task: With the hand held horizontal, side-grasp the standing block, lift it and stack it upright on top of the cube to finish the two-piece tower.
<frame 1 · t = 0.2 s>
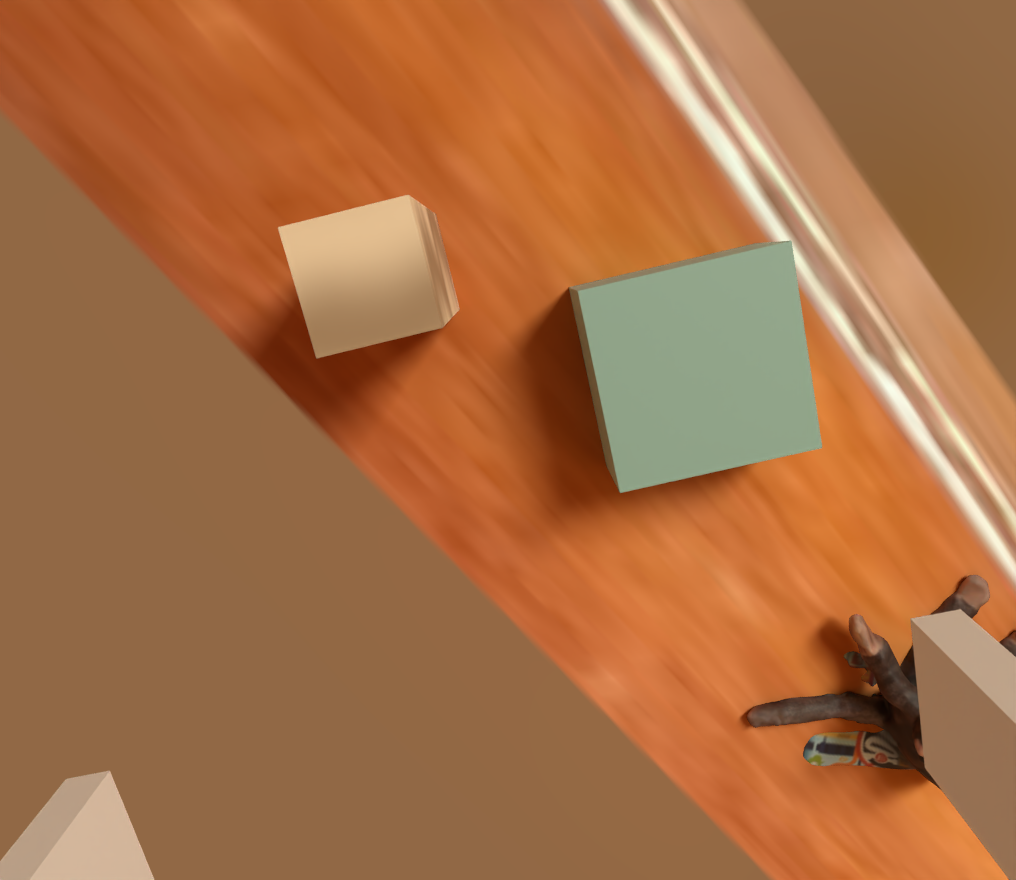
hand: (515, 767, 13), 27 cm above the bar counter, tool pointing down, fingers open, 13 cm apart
block: (401, 273, 38), on the bar counter
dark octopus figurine: (890, 681, 43), on the bar counter
cube: (677, 357, 39), on the bar counter
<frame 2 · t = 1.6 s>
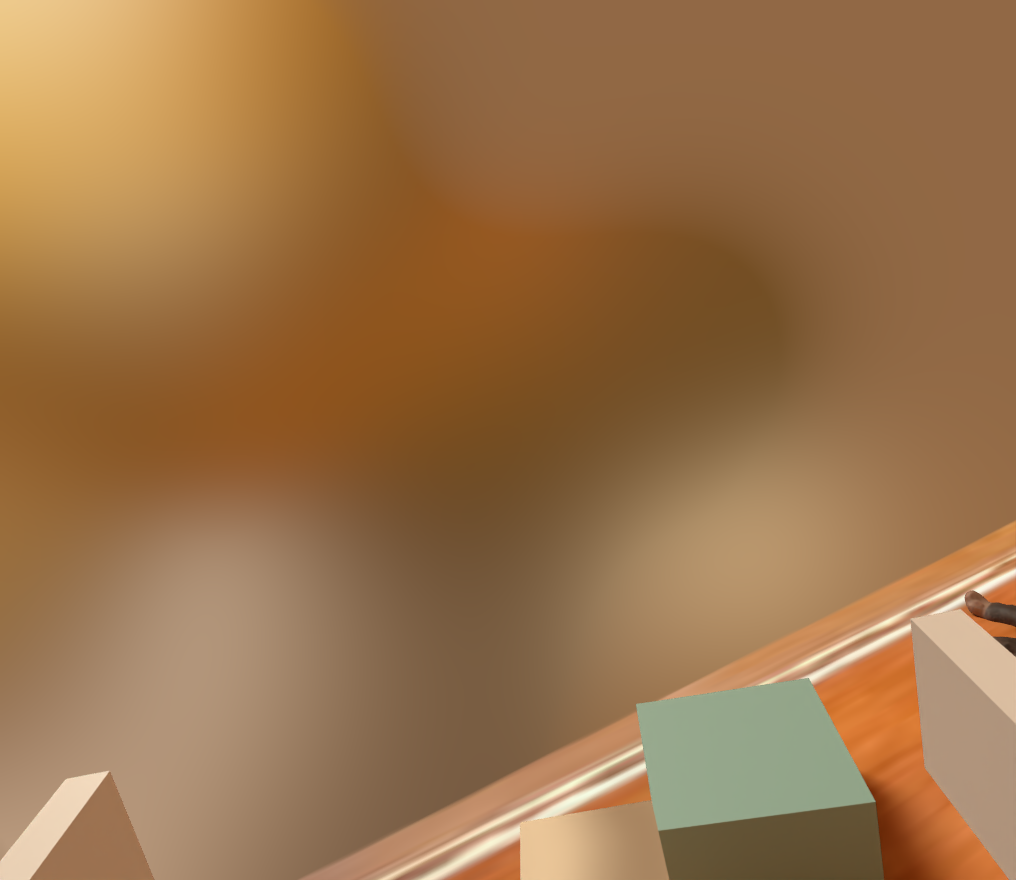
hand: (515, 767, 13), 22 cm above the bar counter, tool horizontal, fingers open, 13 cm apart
cube: (754, 833, 39), on the bar counter
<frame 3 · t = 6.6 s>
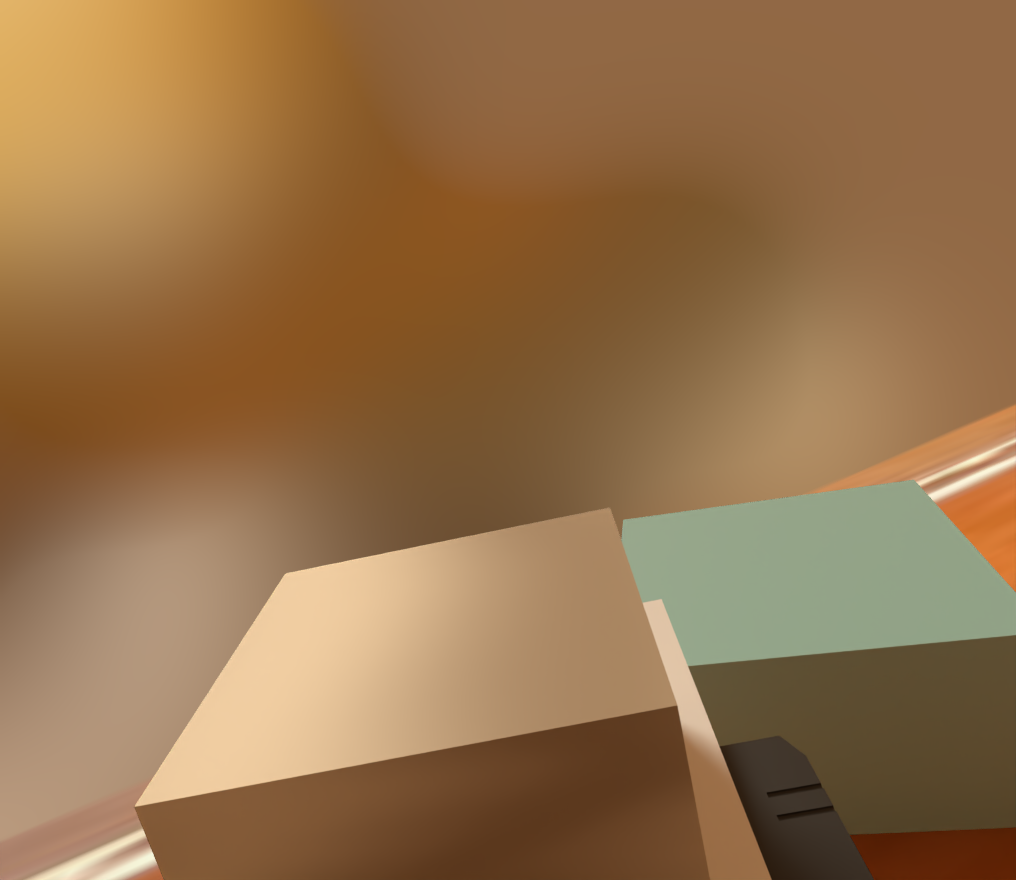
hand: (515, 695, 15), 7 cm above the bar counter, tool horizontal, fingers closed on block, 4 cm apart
cube: (807, 721, 23), on the bar counter
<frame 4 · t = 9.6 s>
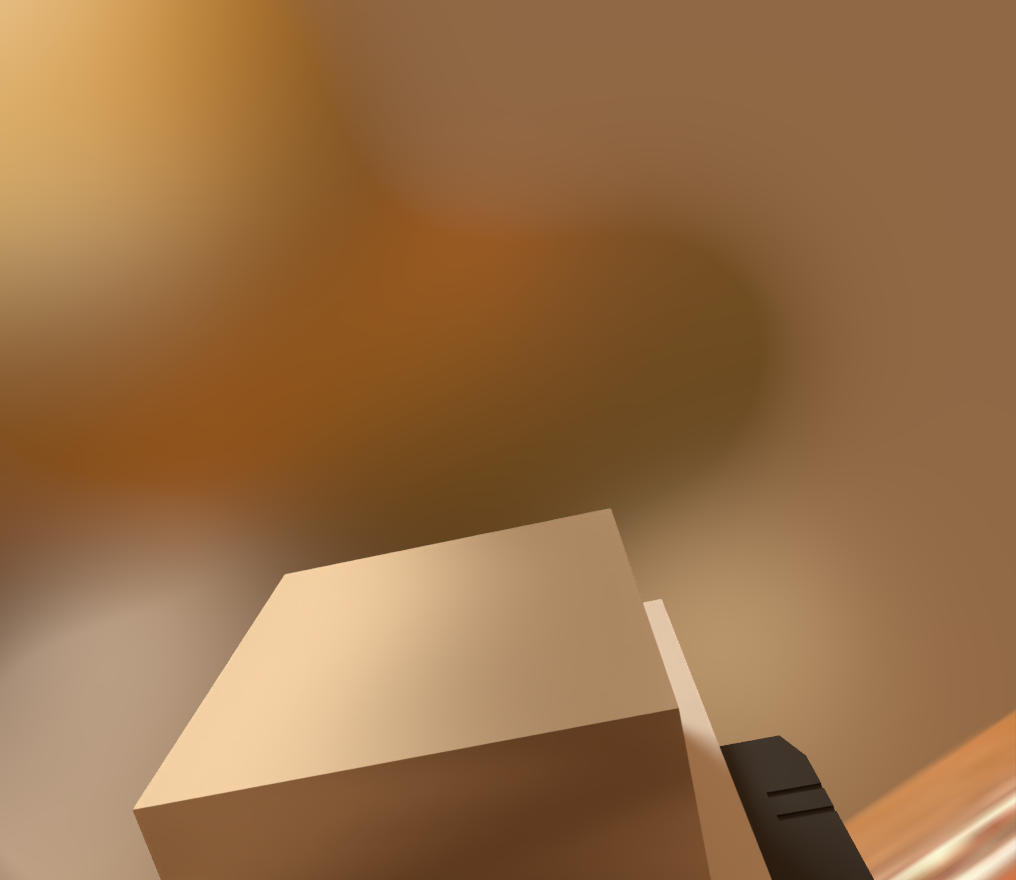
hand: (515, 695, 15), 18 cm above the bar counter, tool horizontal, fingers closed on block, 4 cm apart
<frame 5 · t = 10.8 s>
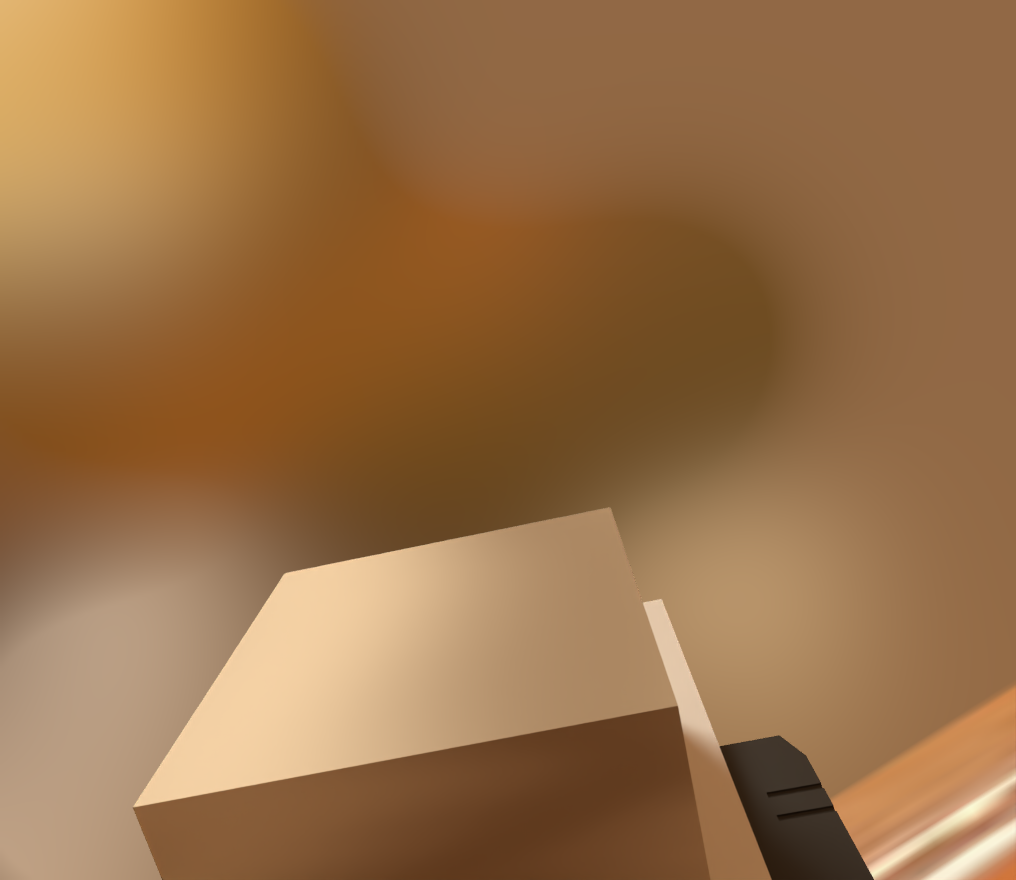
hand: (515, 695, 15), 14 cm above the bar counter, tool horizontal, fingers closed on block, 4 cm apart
when the fingers open (13 cm above the bar counter, at t = 11.3 s): block drops 2 cm, point 5 cm above the bar counter.
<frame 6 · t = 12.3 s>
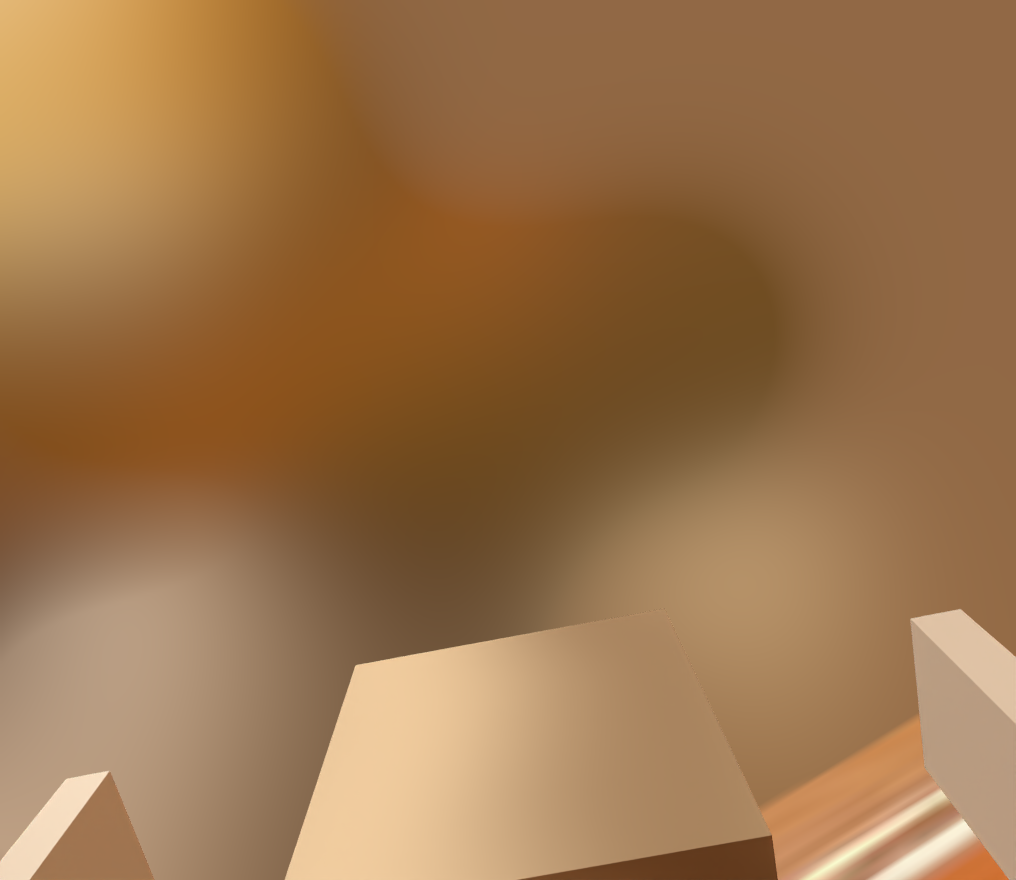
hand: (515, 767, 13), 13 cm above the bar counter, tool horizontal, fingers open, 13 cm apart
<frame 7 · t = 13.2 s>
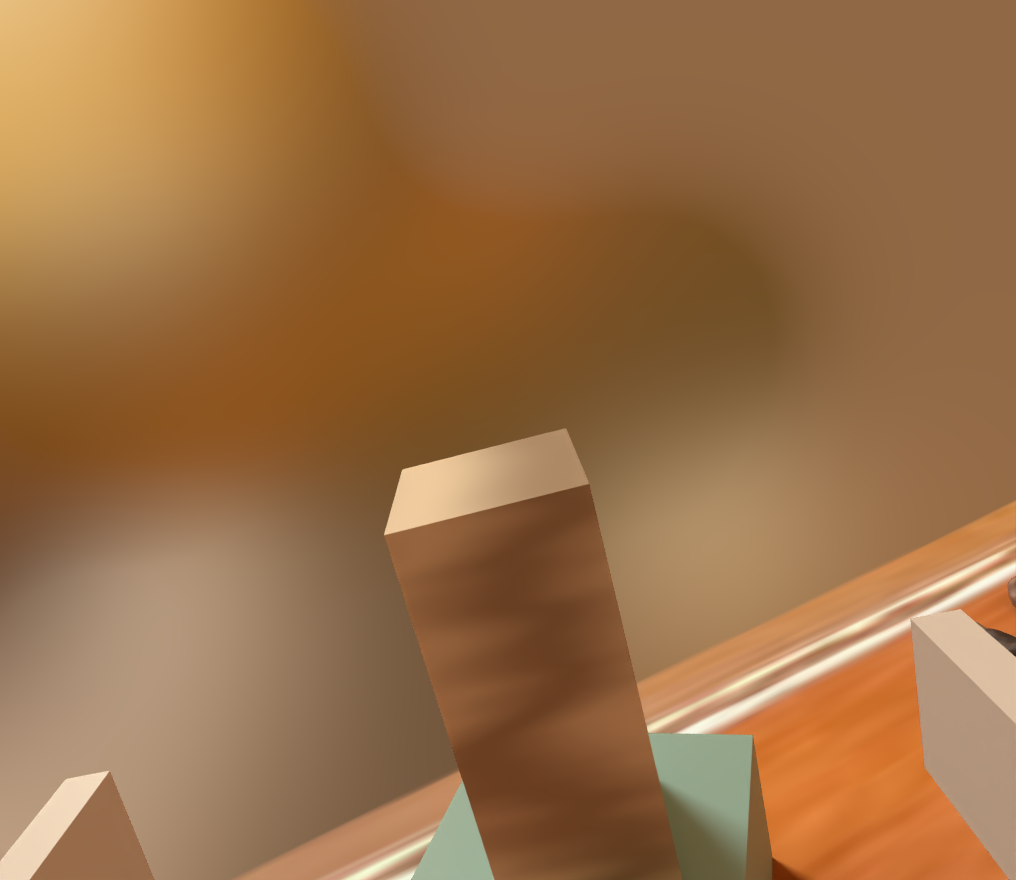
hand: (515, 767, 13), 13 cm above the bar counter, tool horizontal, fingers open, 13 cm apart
block: (584, 839, 22), point 5 cm above the bar counter
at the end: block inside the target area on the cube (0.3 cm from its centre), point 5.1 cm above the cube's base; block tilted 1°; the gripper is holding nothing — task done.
